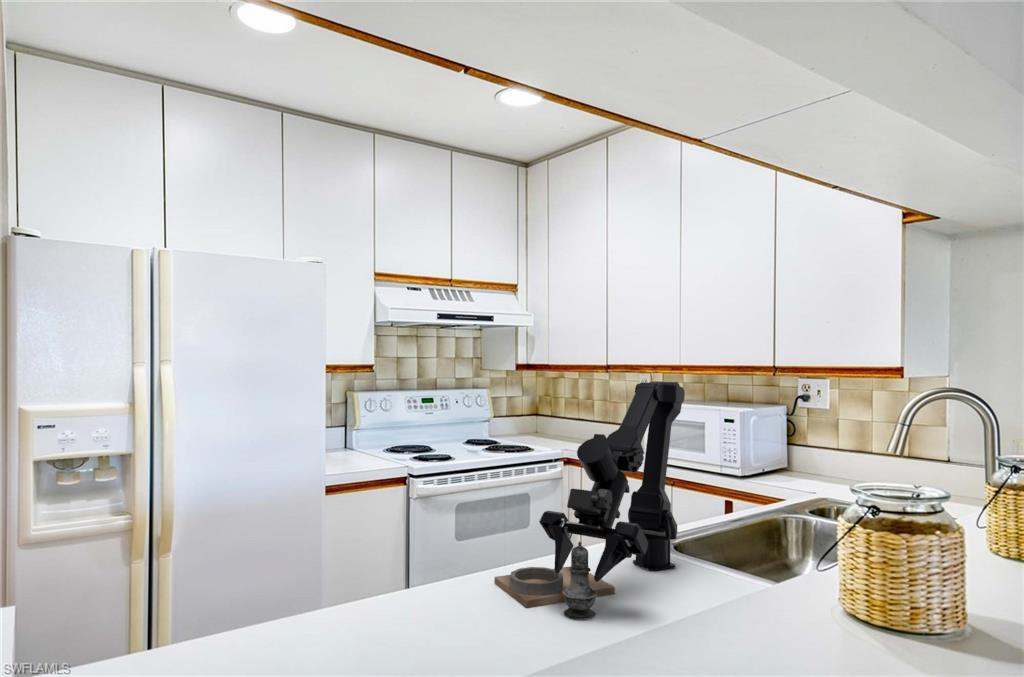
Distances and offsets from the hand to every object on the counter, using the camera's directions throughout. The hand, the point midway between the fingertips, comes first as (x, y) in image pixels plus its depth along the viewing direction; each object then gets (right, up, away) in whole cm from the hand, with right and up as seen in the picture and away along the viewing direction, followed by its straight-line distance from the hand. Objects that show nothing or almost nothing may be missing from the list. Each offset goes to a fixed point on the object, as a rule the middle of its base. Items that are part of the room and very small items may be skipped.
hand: (575, 576), depth 106 cm
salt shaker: (+1, -7, +1) cm, 7 cm away
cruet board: (-3, -7, +13) cm, 16 cm away
